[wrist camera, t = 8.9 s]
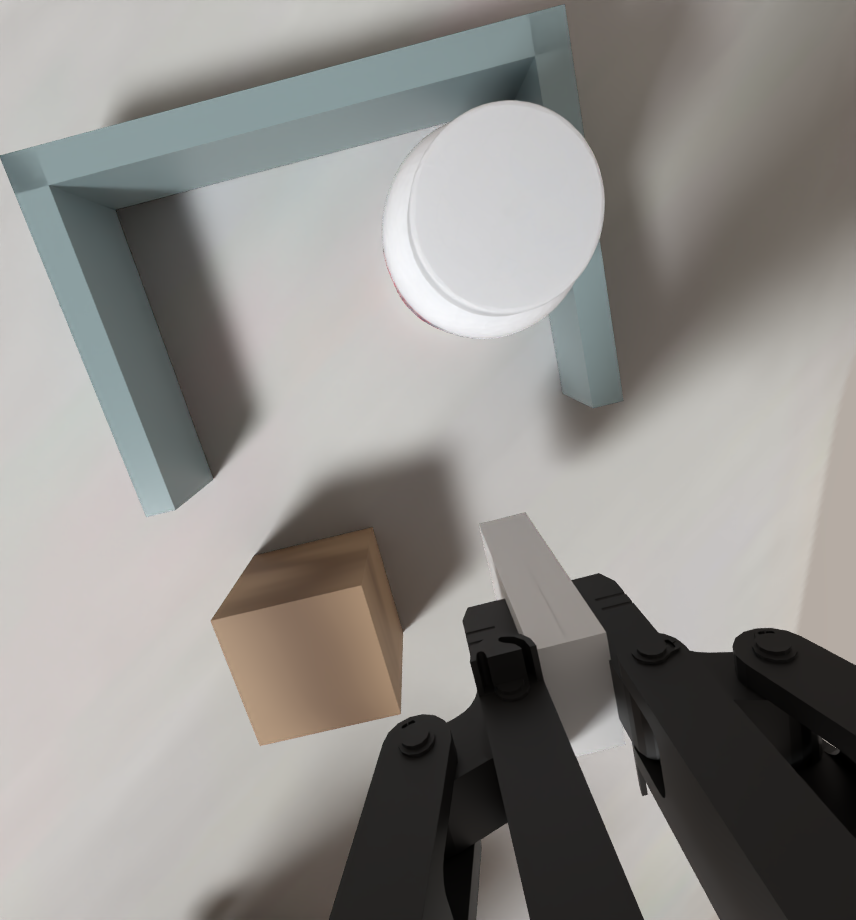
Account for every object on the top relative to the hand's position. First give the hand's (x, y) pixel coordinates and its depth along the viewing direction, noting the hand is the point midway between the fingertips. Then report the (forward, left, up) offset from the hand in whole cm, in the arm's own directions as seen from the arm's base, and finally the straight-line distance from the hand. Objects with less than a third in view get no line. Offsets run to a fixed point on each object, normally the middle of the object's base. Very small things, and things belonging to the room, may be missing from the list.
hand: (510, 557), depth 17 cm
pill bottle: (+1, +9, -5) cm, 11 cm away
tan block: (-7, -2, -5) cm, 9 cm away
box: (-3, +9, -5) cm, 11 cm away
